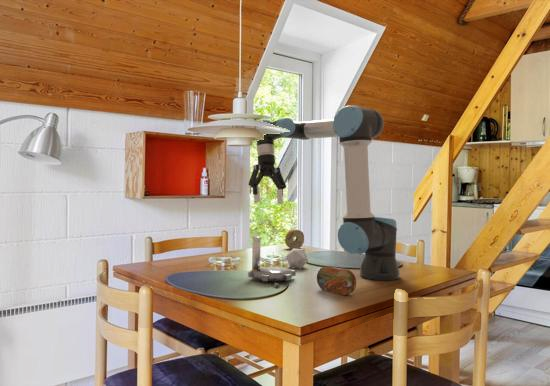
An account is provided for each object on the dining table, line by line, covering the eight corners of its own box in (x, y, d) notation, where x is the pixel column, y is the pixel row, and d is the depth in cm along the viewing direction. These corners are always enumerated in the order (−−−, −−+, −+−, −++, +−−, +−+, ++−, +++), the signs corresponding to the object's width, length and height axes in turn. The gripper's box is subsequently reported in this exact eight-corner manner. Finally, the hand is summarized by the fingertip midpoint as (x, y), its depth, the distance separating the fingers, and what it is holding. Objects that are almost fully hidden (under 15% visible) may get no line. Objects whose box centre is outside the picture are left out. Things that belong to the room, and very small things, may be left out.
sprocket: (304, 277, 178) (305, 239, 178) (272, 283, 167) (273, 243, 166) (271, 269, 191) (272, 234, 190) (239, 275, 180) (240, 237, 179)
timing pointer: (273, 285, 170) (273, 282, 170) (277, 285, 171) (277, 282, 171) (275, 287, 167) (275, 285, 166) (279, 287, 167) (279, 284, 167)
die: (293, 271, 197) (308, 253, 197) (279, 259, 201) (293, 241, 201) (300, 275, 204) (314, 257, 204) (286, 263, 208) (300, 245, 208)
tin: (315, 289, 167) (316, 264, 166) (321, 287, 169) (322, 263, 168) (351, 297, 156) (352, 271, 155) (357, 296, 158) (358, 270, 158)
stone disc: (301, 247, 256) (301, 228, 256) (304, 248, 253) (305, 229, 252) (283, 248, 252) (284, 229, 251) (286, 249, 248) (287, 230, 248)
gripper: (280, 160, 224) (283, 205, 221) (238, 153, 207) (241, 203, 204) (292, 157, 219) (295, 203, 216) (250, 150, 202) (253, 200, 198)
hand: (269, 203), depth 210 cm, fingers open, 13 cm apart
